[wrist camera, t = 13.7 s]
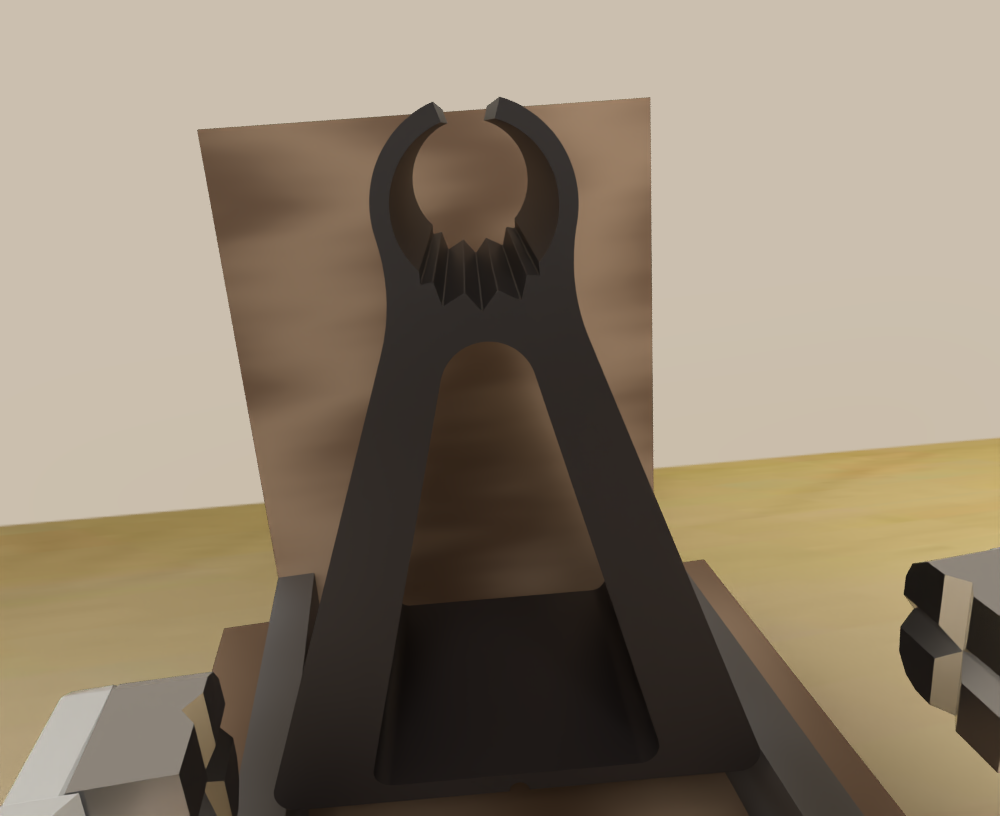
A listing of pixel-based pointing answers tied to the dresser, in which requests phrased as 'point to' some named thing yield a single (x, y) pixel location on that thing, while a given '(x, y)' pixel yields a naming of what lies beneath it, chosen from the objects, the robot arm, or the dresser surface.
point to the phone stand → (511, 620)
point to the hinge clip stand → (464, 439)
